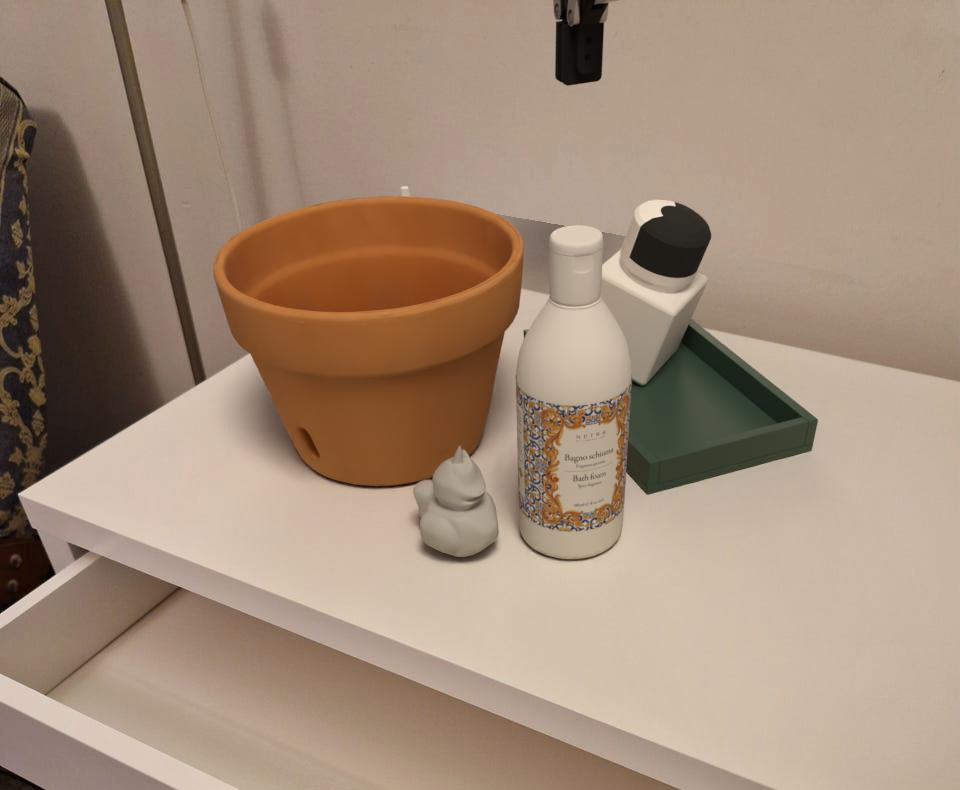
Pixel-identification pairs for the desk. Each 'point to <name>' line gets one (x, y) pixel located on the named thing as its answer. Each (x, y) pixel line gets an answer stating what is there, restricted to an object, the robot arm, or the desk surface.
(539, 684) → the desk surface
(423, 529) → the rubber duck
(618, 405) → the bath foam
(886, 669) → the desk surface
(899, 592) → the desk surface
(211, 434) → the desk surface
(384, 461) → the flower pot
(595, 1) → the robot arm
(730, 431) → the tray
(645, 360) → the medicine bottle
